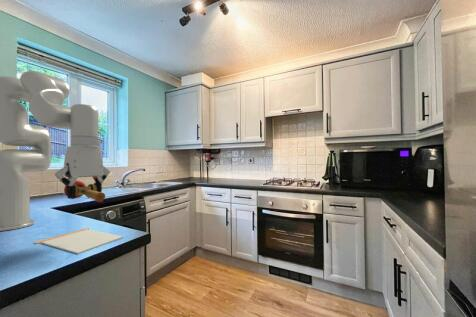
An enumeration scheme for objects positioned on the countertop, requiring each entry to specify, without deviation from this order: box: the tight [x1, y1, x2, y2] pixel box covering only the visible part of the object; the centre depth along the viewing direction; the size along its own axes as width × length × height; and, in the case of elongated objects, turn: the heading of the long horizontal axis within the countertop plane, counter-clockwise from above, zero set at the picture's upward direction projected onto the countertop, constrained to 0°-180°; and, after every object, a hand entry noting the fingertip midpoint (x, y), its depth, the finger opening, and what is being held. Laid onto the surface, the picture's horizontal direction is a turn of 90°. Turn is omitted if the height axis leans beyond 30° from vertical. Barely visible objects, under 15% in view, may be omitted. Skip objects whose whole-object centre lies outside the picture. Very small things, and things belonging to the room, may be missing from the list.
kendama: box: [63, 180, 106, 203], centre depth 70 cm, size 8×6×18 cm
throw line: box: [33, 227, 90, 245], centre depth 76 cm, size 2×16×1 cm, turn 155°
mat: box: [40, 228, 124, 255], centre depth 71 cm, size 20×14×1 cm
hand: (85, 196), depth 71 cm, fingers closed on kendama, 7 cm apart
